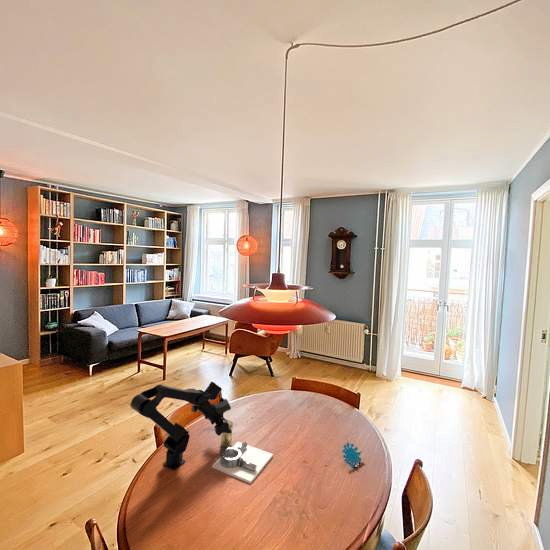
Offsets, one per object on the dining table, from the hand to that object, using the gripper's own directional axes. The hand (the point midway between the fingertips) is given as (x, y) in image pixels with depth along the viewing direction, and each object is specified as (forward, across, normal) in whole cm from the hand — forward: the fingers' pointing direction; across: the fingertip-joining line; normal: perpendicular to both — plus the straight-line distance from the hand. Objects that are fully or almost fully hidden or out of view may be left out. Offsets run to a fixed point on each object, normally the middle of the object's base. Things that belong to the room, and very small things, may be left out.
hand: (229, 429), depth 148 cm
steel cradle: (+7, -14, +3) cm, 15 cm away
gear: (+40, -28, -29) cm, 57 cm away
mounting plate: (+7, -14, +3) cm, 16 cm away
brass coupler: (+4, 0, +6) cm, 7 cm away
